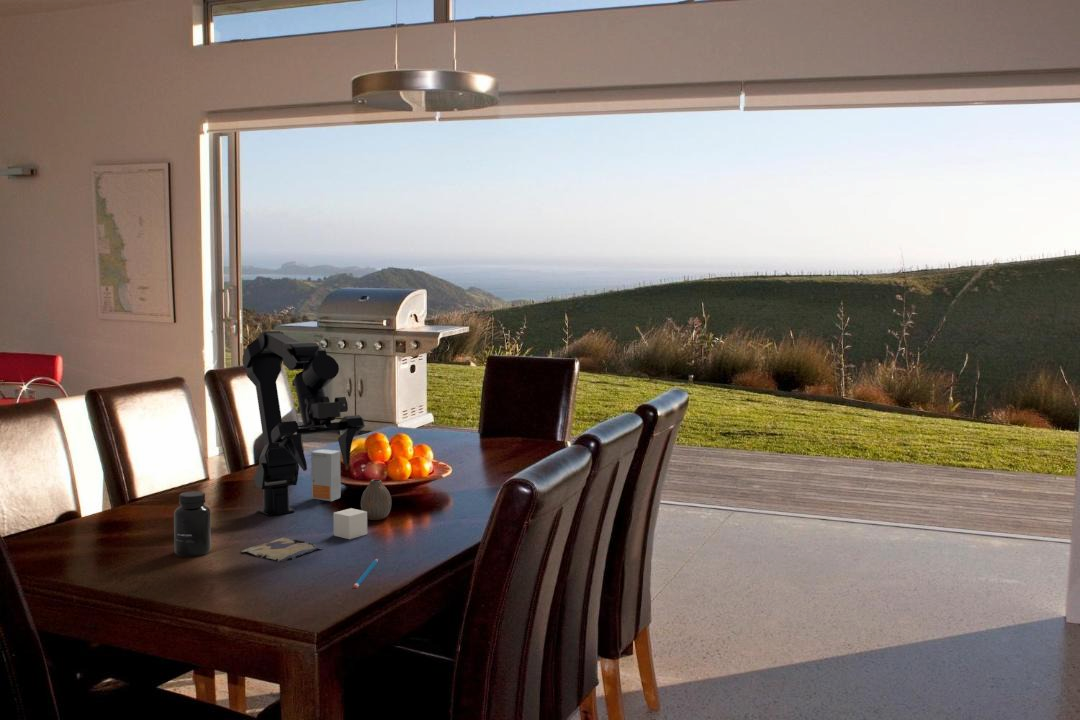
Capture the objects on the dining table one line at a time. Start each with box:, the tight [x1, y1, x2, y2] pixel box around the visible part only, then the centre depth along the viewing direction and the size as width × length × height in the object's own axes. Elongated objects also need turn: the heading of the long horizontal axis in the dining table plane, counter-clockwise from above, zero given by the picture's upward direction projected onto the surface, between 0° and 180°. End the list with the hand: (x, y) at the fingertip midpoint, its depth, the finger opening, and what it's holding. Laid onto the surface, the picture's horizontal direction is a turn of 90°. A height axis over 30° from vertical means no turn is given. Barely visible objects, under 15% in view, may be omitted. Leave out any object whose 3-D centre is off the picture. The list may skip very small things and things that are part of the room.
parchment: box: [239, 537, 322, 563], centre depth 189 cm, size 12×13×1 cm
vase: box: [360, 478, 392, 521], centre depth 214 cm, size 7×7×9 cm
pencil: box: [352, 558, 379, 589], centre depth 175 cm, size 1×17×1 cm, turn 176°
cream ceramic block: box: [333, 507, 368, 540], centre depth 201 cm, size 5×5×5 cm
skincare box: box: [310, 448, 341, 502], centre depth 232 cm, size 6×4×12 cm
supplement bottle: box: [173, 490, 212, 558], centre depth 187 cm, size 7×7×12 cm
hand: (326, 467), depth 194 cm, fingers open, 9 cm apart
